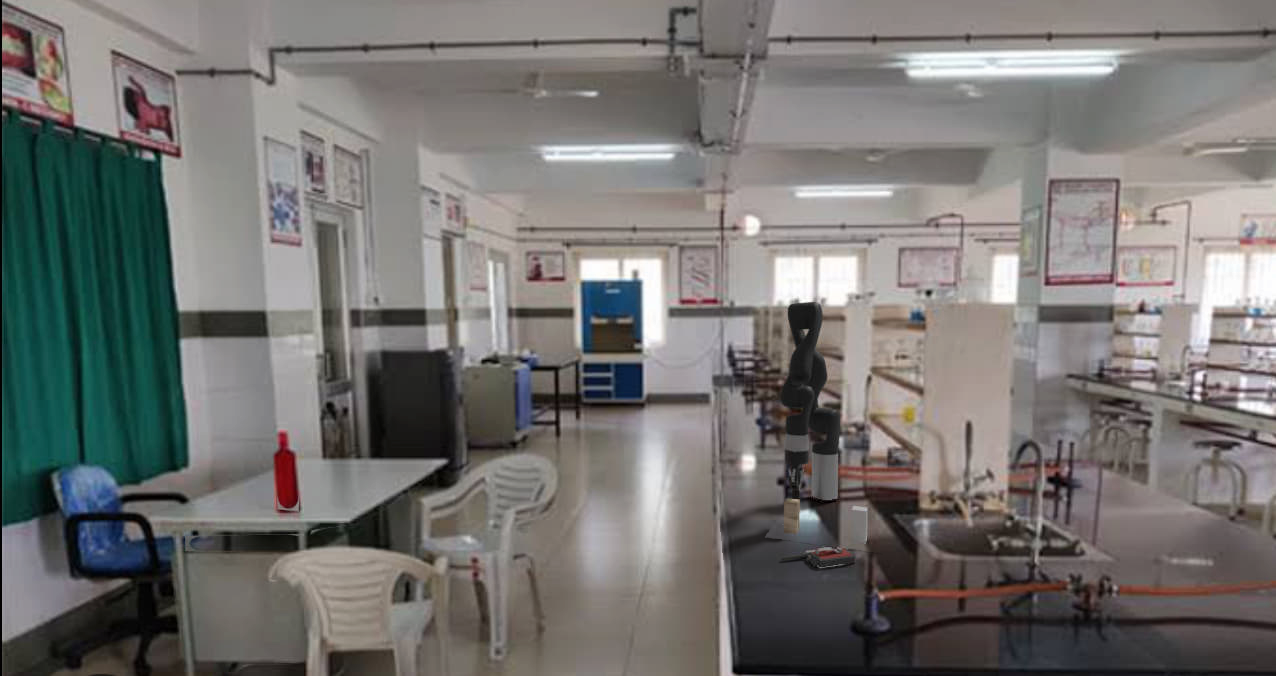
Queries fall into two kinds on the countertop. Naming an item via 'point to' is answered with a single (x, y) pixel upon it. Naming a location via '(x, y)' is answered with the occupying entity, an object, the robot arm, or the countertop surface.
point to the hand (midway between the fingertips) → (796, 501)
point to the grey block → (859, 524)
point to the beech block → (791, 515)
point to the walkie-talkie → (826, 556)
